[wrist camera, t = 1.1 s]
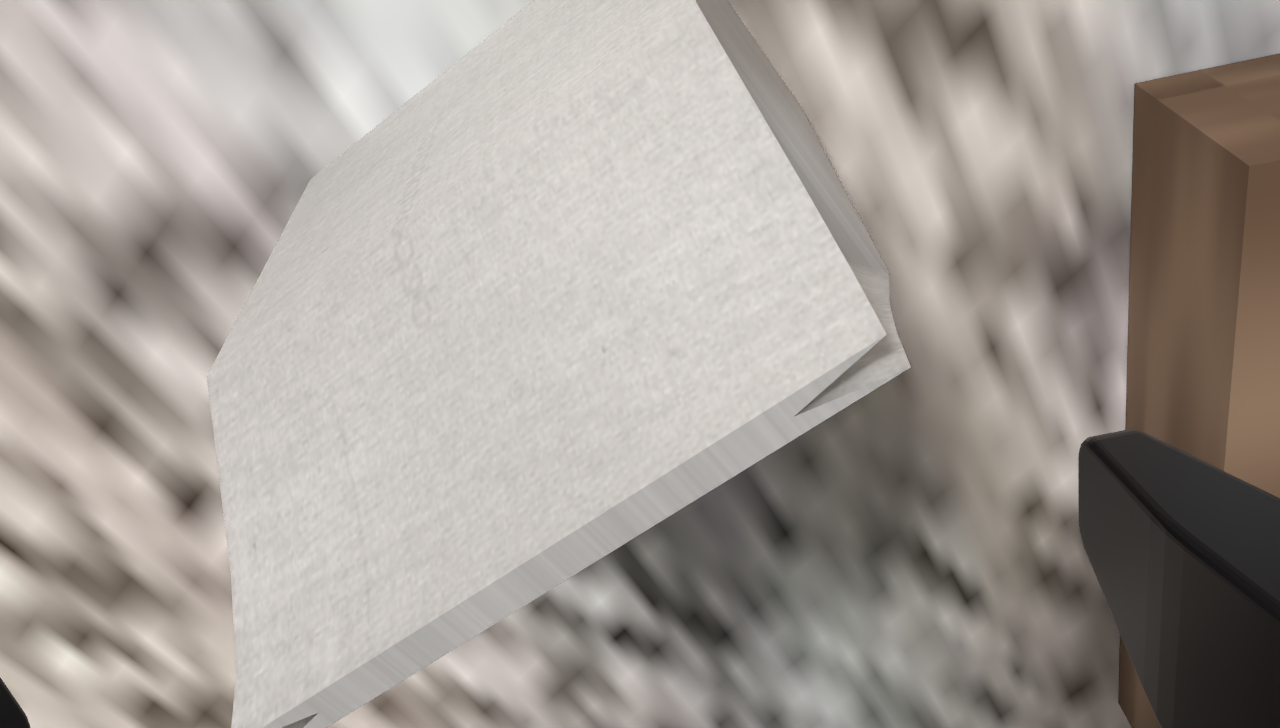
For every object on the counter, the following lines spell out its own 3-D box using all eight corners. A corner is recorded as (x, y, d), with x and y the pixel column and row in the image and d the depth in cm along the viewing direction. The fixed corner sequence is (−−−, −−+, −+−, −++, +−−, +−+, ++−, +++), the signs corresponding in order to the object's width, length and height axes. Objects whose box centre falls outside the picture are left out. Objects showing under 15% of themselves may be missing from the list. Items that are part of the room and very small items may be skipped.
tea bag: (311, 178, 18) (69, 637, 9) (657, -100, 16) (754, 154, 7) (467, 338, 20) (384, 855, 11) (798, 102, 18) (1010, 502, 9)
